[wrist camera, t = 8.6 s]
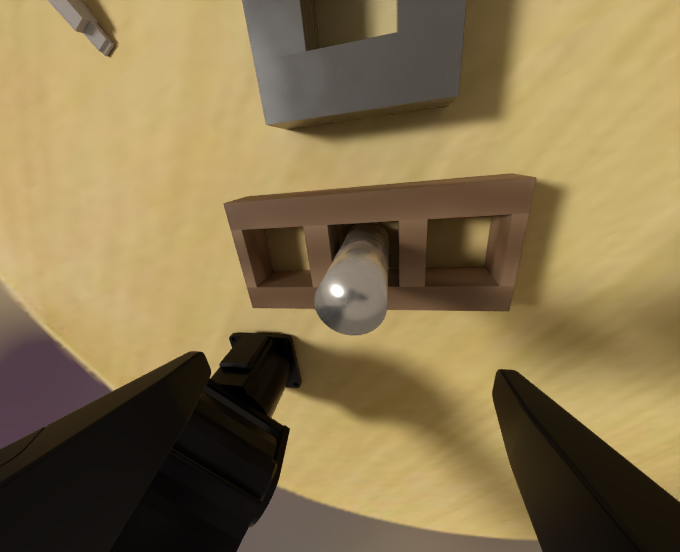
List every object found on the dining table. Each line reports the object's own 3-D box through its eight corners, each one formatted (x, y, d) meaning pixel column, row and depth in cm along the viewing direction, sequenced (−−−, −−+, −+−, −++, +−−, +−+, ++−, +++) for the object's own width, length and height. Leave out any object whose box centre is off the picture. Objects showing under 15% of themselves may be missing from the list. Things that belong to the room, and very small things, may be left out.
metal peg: (389, 261, 20) (387, 336, 12) (348, 262, 20) (319, 334, 12) (388, 220, 18) (385, 272, 10) (344, 222, 19) (309, 273, 11)
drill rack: (492, 289, 19) (509, 311, 16) (269, 289, 23) (252, 307, 20) (511, 173, 16) (536, 177, 13) (246, 196, 19) (223, 203, 17)
